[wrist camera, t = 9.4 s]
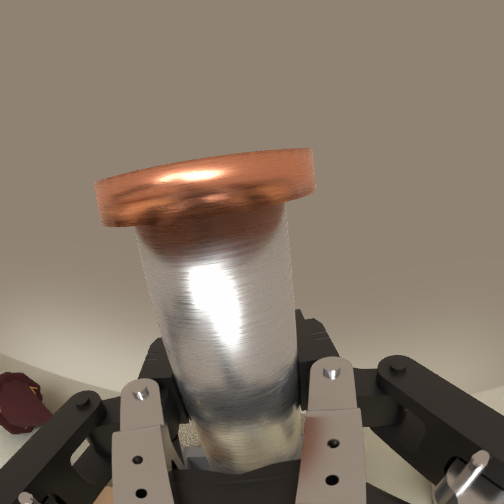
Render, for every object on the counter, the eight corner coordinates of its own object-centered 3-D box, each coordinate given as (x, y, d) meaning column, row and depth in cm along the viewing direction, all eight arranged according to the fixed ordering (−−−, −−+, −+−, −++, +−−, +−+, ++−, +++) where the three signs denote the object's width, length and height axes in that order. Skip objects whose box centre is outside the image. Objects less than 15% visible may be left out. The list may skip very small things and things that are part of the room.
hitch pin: (216, 543, 10) (49, 192, 5) (216, 468, 15) (134, 176, 10) (325, 530, 10) (347, 144, 5) (306, 457, 15) (288, 153, 10)
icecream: (68, 371, 22) (2, 354, 26) (9, 400, 15) (-41, 370, 19) (91, 433, 22) (19, 403, 26) (43, 469, 15) (-20, 423, 19)
